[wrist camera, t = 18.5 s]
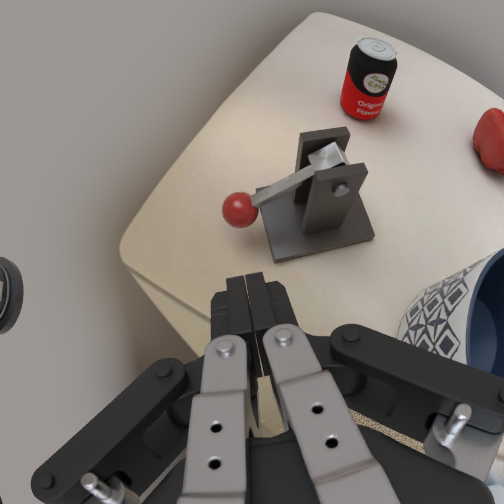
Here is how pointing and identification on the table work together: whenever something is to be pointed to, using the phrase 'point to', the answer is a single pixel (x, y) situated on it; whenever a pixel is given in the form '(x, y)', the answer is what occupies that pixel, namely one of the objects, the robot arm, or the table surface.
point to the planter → (462, 316)
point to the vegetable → (491, 139)
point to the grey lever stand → (318, 205)
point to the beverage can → (368, 77)
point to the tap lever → (279, 187)
